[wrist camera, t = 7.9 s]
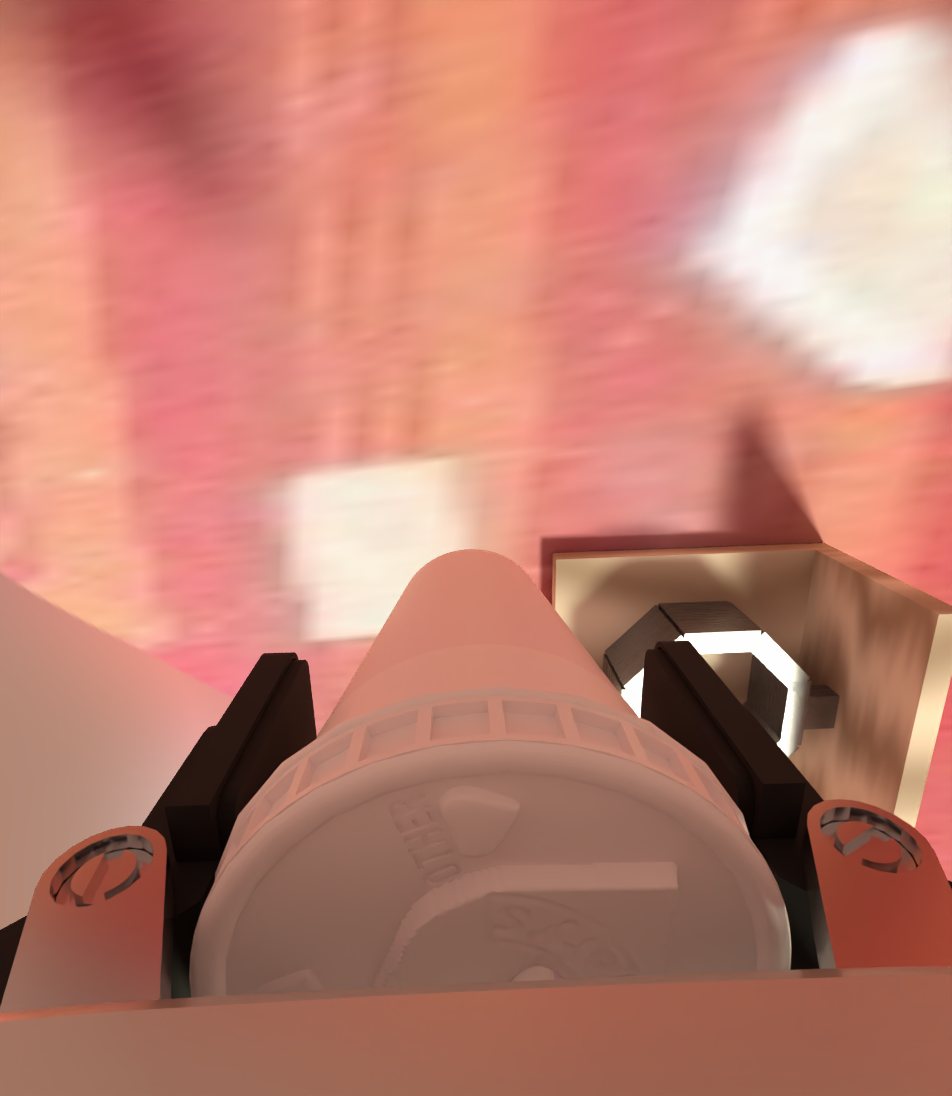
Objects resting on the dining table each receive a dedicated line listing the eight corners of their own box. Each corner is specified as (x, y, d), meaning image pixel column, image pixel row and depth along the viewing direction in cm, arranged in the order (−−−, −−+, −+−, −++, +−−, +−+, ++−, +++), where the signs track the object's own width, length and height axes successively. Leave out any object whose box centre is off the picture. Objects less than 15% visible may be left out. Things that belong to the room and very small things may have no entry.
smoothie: (645, 619, 16) (1757, 2156, 2) (467, 766, 17) (515, 2338, 3) (475, 440, 14) (833, 1945, 1) (292, 616, 15) (-830, 2411, 2)
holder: (552, 553, 35) (592, 628, 25) (823, 543, 35) (966, 613, 26) (549, 783, 40) (581, 922, 30) (787, 772, 40) (896, 904, 30)
